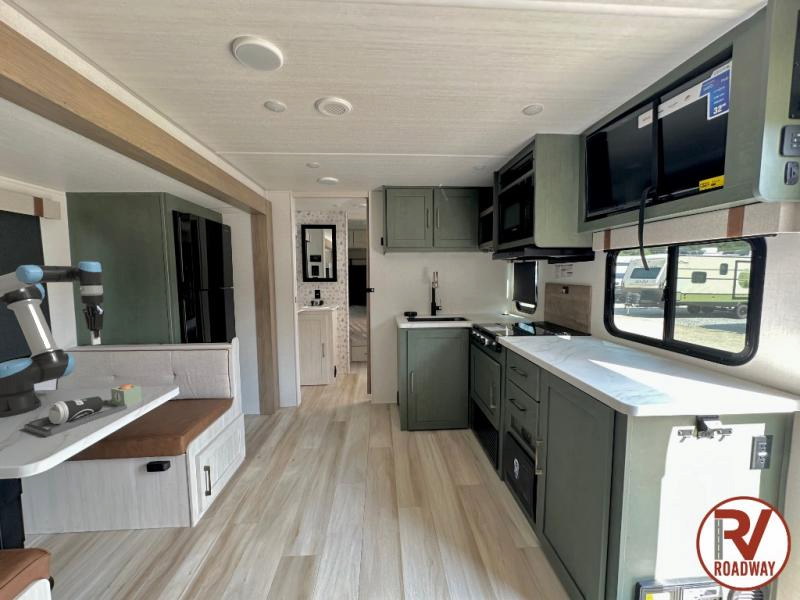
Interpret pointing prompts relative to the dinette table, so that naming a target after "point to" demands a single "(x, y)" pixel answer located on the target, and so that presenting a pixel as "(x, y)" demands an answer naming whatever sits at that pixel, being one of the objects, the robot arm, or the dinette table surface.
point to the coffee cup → (73, 409)
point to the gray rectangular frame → (35, 425)
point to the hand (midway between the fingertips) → (96, 344)
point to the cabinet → (126, 395)
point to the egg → (125, 386)
